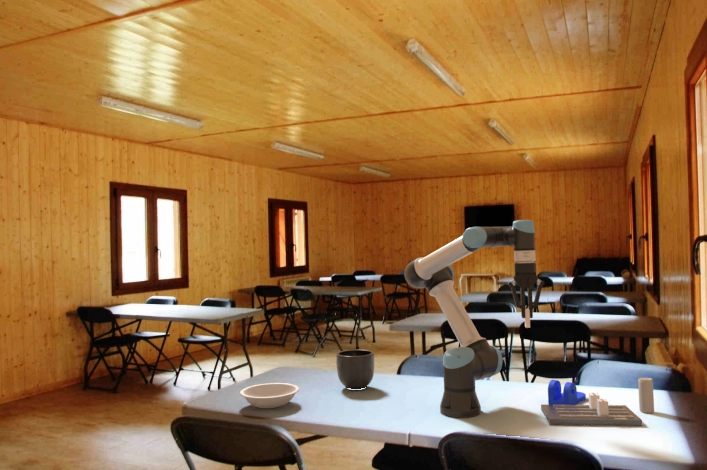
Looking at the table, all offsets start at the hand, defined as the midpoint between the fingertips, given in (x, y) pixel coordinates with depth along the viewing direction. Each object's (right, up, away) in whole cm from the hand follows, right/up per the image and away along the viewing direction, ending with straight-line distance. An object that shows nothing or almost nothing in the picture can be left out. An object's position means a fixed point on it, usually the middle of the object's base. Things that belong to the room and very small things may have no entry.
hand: (527, 327), depth 208 cm
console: (+21, -32, -4) cm, 38 cm away
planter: (-62, -36, +49) cm, 87 cm away
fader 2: (+24, -29, -8) cm, 39 cm away
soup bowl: (-97, -36, +25) cm, 107 cm away
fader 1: (+24, -29, 0) cm, 38 cm away
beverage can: (+44, -31, +1) cm, 54 cm away
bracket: (+22, -33, +18) cm, 43 cm away
